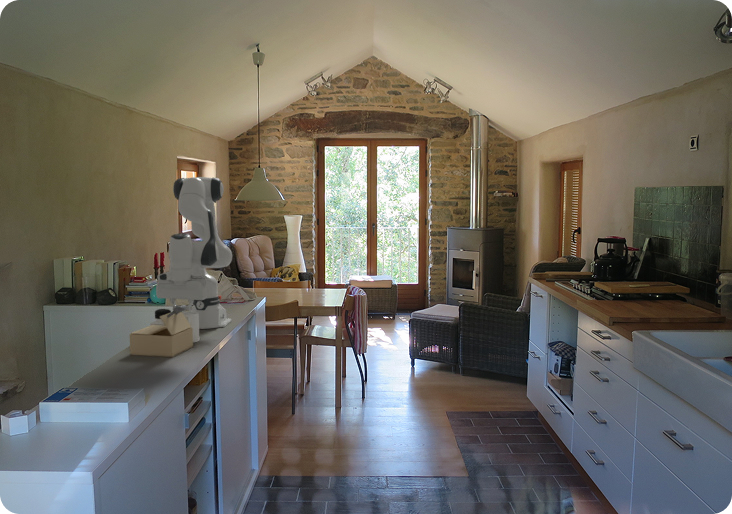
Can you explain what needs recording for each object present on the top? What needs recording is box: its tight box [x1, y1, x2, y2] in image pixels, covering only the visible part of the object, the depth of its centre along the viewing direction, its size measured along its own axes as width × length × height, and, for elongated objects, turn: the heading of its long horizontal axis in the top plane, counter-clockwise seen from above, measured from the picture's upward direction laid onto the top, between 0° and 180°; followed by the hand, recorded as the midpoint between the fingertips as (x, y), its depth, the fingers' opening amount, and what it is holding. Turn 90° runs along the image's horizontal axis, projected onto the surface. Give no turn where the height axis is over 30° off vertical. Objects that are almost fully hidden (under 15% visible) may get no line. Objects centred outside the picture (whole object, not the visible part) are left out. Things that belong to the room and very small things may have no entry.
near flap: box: [160, 304, 191, 335], centre depth 228 cm, size 15×9×6 cm
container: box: [149, 308, 172, 326], centre depth 250 cm, size 8×8×13 cm
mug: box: [182, 311, 201, 344], centre depth 245 cm, size 12×8×12 cm
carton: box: [129, 325, 194, 358], centre depth 231 cm, size 16×18×8 cm
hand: (182, 310), depth 227 cm, fingers open, 4 cm apart
